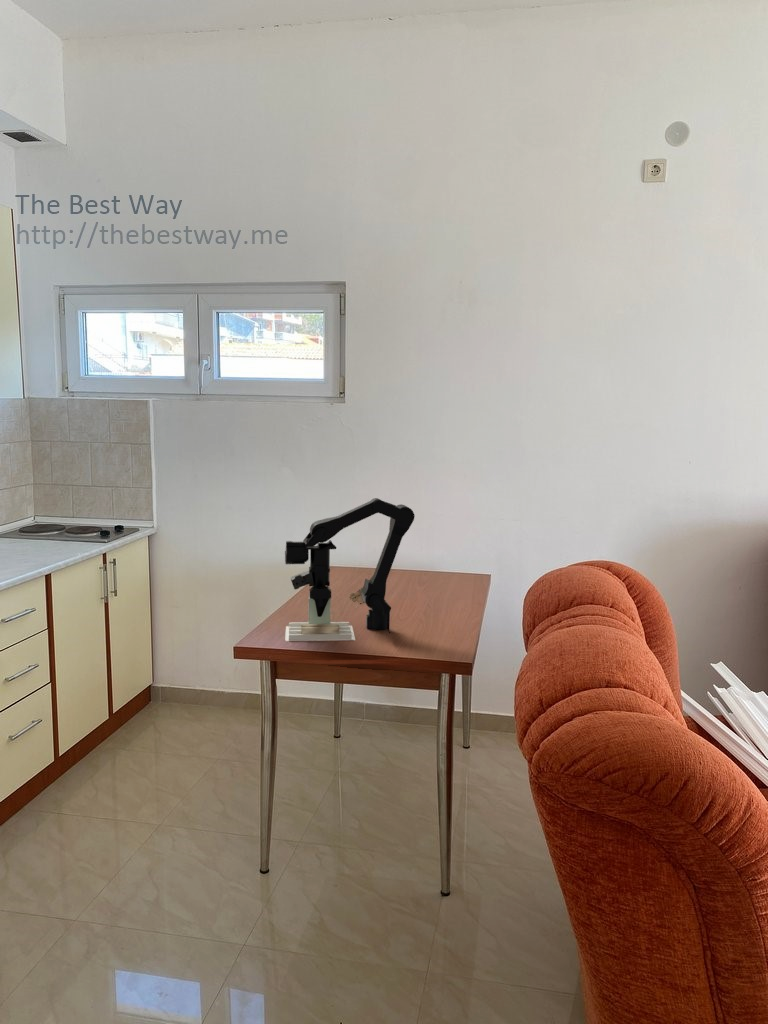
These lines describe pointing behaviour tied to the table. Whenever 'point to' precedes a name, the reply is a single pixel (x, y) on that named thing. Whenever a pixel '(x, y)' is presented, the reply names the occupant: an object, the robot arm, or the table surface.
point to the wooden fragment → (357, 596)
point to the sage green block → (314, 617)
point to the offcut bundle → (320, 629)
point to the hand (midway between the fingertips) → (319, 615)
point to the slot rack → (295, 634)
